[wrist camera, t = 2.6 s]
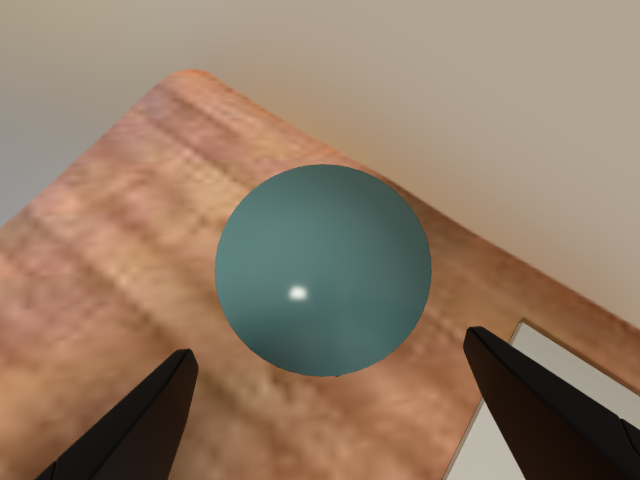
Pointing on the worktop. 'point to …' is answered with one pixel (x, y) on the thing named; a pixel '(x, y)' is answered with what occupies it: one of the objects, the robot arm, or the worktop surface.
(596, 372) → the grey mat
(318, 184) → the teal cover
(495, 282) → the worktop surface
